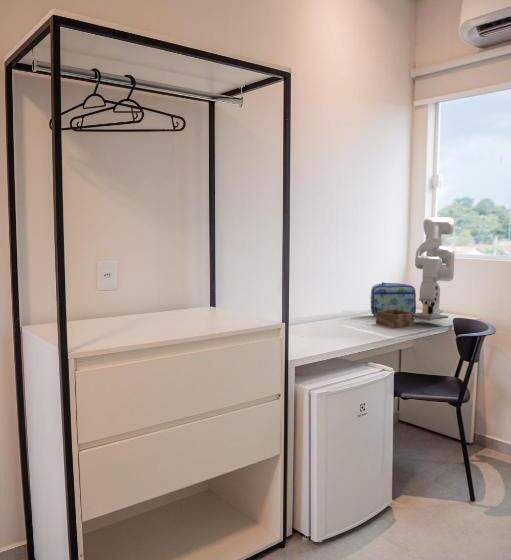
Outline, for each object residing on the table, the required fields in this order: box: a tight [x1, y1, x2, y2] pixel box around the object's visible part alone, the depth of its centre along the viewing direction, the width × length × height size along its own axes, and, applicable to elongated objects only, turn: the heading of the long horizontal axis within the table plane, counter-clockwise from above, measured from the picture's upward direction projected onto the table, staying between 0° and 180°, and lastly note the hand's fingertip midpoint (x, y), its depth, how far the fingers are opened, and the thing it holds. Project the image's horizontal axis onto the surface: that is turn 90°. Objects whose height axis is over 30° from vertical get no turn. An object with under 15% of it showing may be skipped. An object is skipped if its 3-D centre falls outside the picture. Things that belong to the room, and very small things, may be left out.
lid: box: [414, 304, 449, 321], centre depth 288 cm, size 15×15×7 cm
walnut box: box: [375, 309, 415, 329], centre depth 287 cm, size 14×14×8 cm
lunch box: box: [370, 281, 417, 318], centre depth 313 cm, size 26×11×21 cm, turn 84°
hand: (427, 312), depth 288 cm, fingers closed on lid, 2 cm apart
